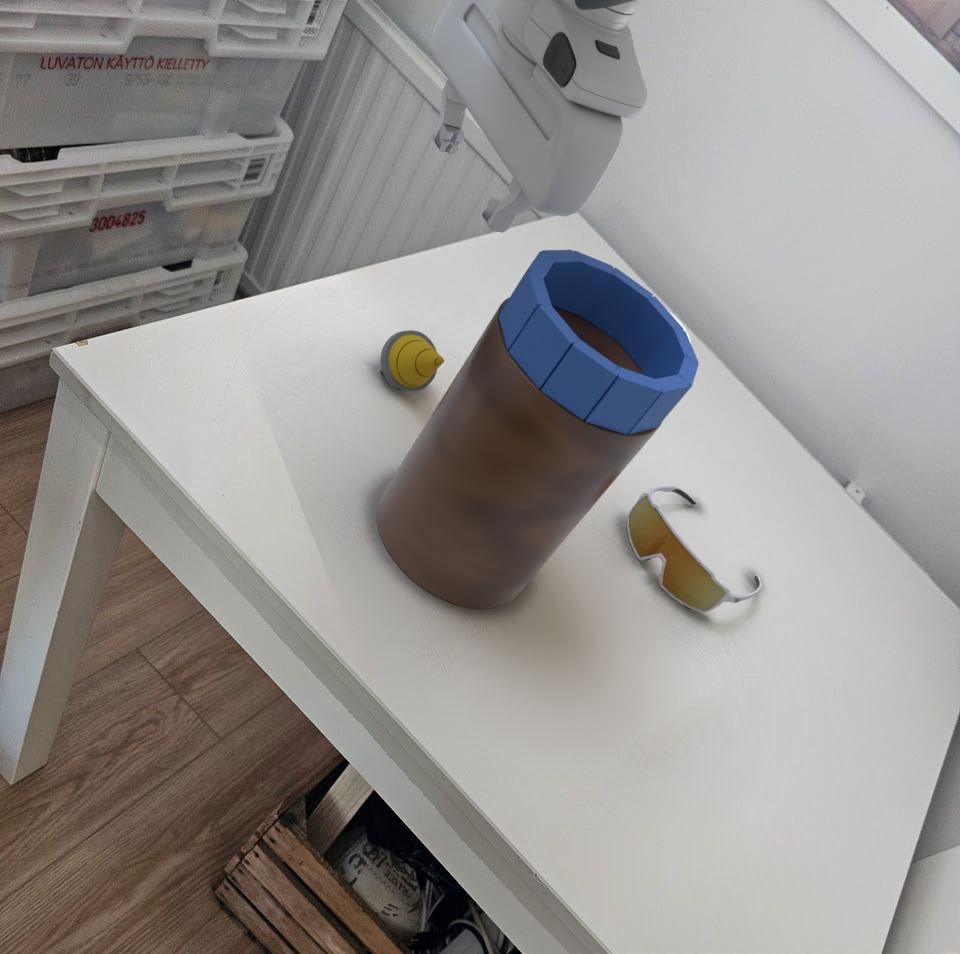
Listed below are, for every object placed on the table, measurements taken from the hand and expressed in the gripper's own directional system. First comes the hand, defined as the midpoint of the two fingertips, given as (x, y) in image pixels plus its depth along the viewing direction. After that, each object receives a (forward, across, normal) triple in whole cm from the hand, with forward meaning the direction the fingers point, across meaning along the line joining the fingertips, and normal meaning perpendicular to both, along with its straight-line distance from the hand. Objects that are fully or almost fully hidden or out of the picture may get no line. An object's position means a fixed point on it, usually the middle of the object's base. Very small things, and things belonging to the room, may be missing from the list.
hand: (467, 185), depth 82 cm
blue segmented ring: (-1, +20, -1) cm, 20 cm away
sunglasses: (+19, +24, +26) cm, 40 cm away
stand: (+19, +20, -1) cm, 28 cm away
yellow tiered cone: (+19, +2, +3) cm, 20 cm away
